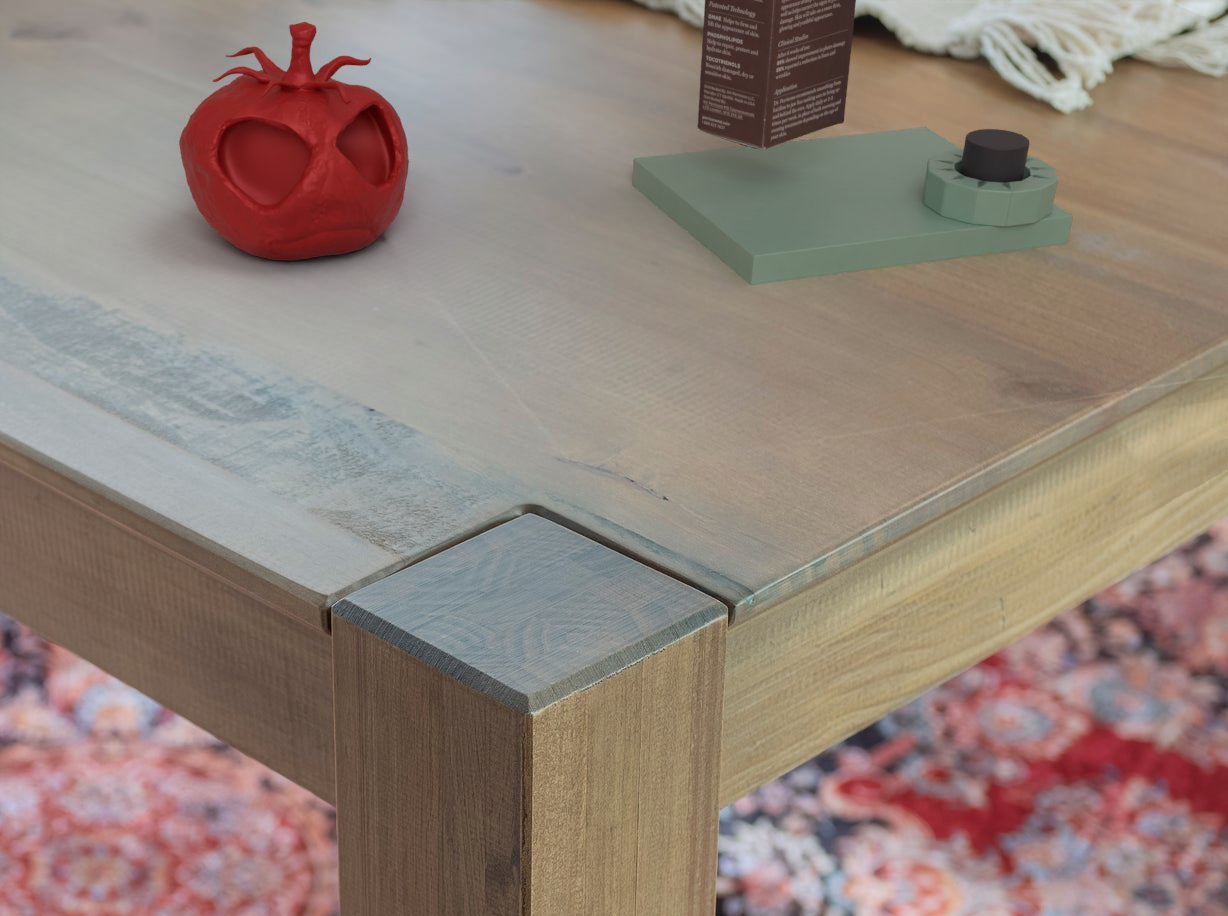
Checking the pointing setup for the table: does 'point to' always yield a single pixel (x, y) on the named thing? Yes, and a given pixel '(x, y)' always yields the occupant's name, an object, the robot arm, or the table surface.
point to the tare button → (994, 155)
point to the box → (774, 68)
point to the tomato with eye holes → (295, 157)
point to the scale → (849, 204)
